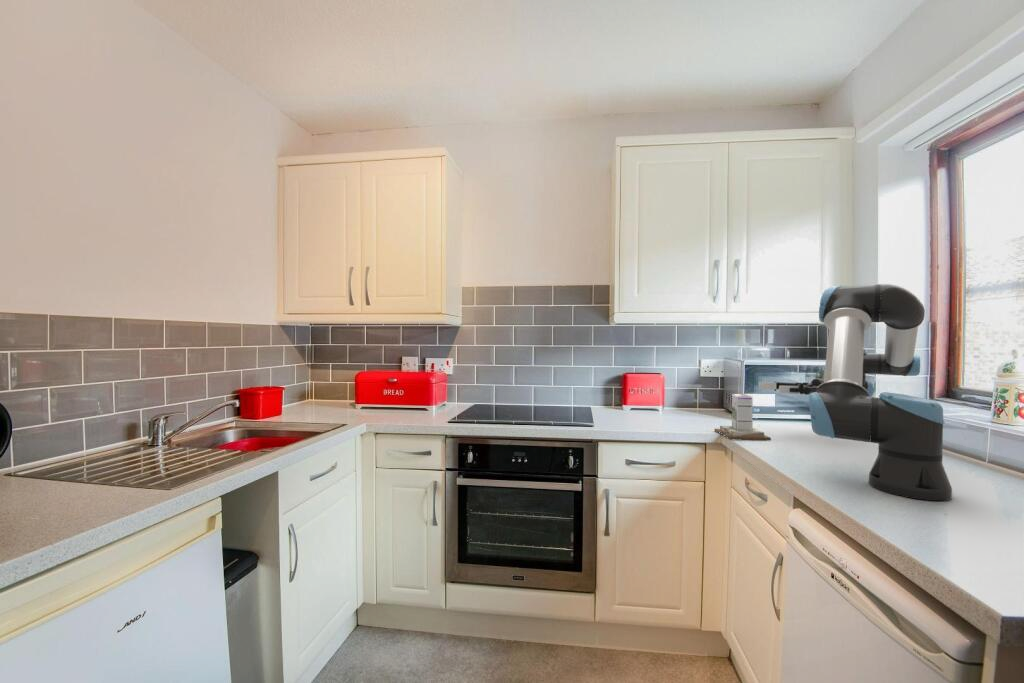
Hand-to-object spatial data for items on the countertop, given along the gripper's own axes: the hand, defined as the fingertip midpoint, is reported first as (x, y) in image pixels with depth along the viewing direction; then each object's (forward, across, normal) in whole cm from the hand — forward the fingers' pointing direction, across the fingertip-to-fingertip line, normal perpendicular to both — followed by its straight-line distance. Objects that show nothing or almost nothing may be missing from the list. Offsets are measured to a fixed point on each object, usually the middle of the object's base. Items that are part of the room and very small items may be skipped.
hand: (768, 387), depth 163 cm
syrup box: (+10, 0, -18) cm, 20 cm away
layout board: (+10, 0, -18) cm, 21 cm away
